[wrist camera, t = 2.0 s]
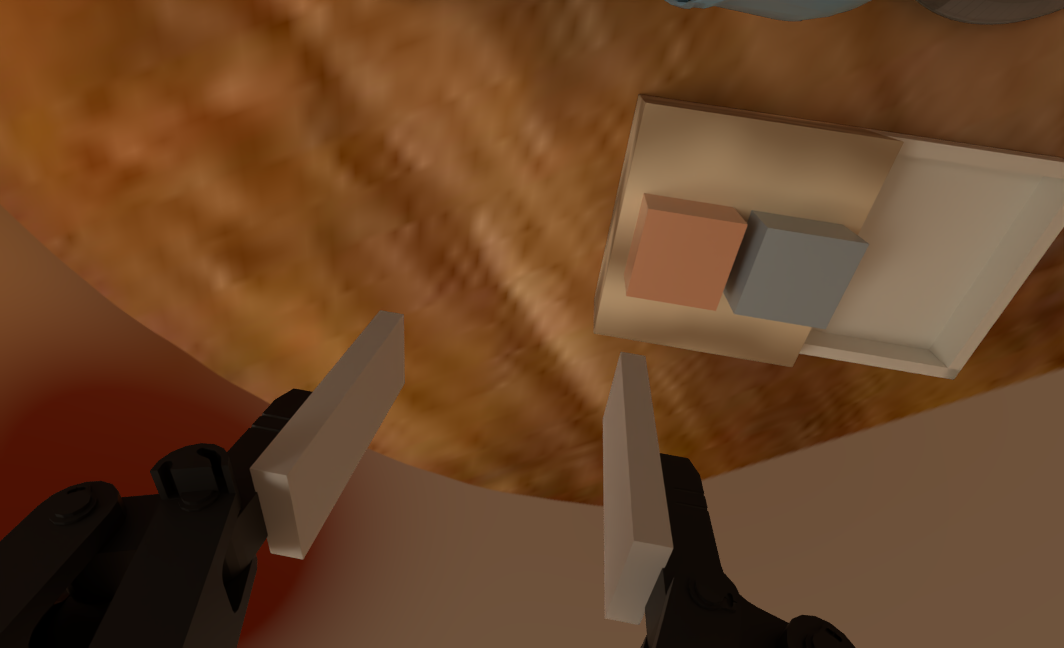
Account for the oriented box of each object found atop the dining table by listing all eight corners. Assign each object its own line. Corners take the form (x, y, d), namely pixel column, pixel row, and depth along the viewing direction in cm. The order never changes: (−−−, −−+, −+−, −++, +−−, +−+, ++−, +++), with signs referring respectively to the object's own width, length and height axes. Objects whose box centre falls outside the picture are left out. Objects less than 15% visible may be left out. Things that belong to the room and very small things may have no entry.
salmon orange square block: (643, 193, 27) (648, 208, 24) (733, 207, 27) (747, 224, 24) (623, 274, 29) (626, 295, 27) (705, 287, 29) (715, 310, 27)
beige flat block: (638, 94, 29) (645, 102, 25) (858, 126, 28) (904, 141, 24) (594, 298, 36) (593, 333, 32) (768, 328, 36) (792, 367, 31)
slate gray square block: (751, 209, 27) (768, 227, 24) (843, 224, 26) (869, 243, 24) (722, 290, 29) (733, 314, 27) (805, 304, 29) (825, 329, 26)
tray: (858, 126, 28) (884, 135, 26) (1059, 157, 28) (1105, 168, 25) (768, 328, 36) (782, 350, 33) (927, 355, 35) (953, 379, 32)
